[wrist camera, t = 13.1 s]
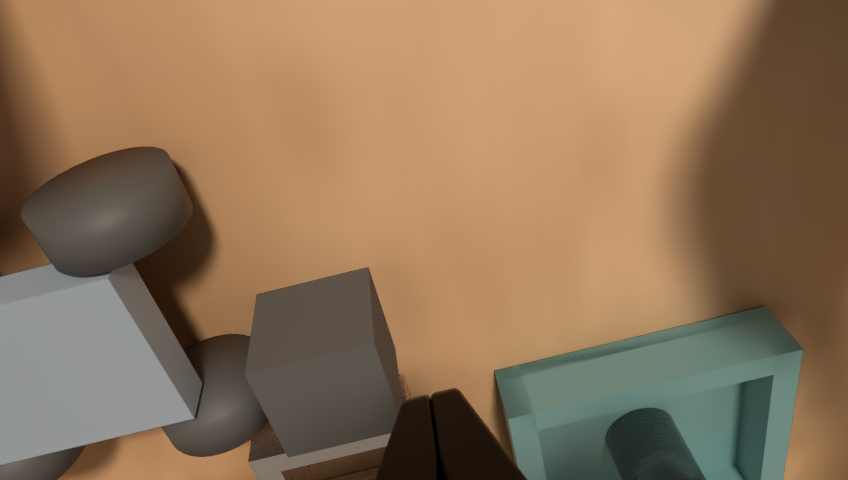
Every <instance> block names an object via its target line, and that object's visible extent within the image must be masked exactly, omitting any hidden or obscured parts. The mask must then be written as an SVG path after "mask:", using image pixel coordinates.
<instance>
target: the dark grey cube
mask: <svg viewBox="0 0 848 480" xmlns="http://www.w3.org/2000/svg"><path fill="white" fill-rule="evenodd" d="M245 377H246V379H247V380H248V382H249V384H250V386H251V388H252V390H253V392H254V394H255V396H256V398H257V400H258V401H259V403H260V405H261V407H262V409H263V411H264V413H265V415H266V417H267V419H268V420H269V422H270V424H271V426H272V428H273V430H274V432H275V434H276V436H277V438H278V440H279V441H280V443H281V445H282V447H283V449H284V451H285V453H286V455H287V457H288V458H289V457H293V456H297V455H302V454H306V453H310V452H314V451H318V450H323V449H327V448H331V447H335V446H339V445H344V444H348V443H352V442H356V441H360V440H364V439H369V438H373V437H377V436H381V435H385V434H390V433H391V432H392V429H393V426H394V423H395V421H396V418H397V415H398V412H399V409H400V406H401V404H402V403H401V394H400V386H399V377H398V369H397V360H396V351H395V347H394V344H393V341H392V338H391V335H390V332H389V329H388V326H387V323H386V320H385V316H384V313H383V310H382V307H381V304H380V301H379V298H378V295H377V292H376V289H375V286H374V283H373V280H372V277H371V274H370V271H369V268H368V267H367V268H363V269H359V270H354V271H350V272H346V273H342V274H338V275H334V276H330V277H326V278H322V279H318V280H313V281H309V282H305V283H301V284H297V285H293V286H289V287H285V288H281V289H277V290H272V291H268V292H264V293H260V294H257V297H256V303H255V310H254V317H253V323H252V330H251V337H250V343H249V350H248V357H247V363H246V370H245Z"/></svg>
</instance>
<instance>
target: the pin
mask: <svg viewBox="0 0 848 480" xmlns="http://www.w3.org/2000/svg"><path fill="white" fill-rule="evenodd" d="M605 441H606V444H607V447H608V449H609V451H610V454H611V456H612V458H613V461H614V463H615V465H616V468H617V470H618V472H619V475H620V477H621V479H622V480H706V478H705V476H704V475H703V473H702V471H701V469H700V467H699V466H698V464H697V462H696V460H695V458H694V457H693V455H692V453H691V451H690V449H689V448H688V446H687V444H686V442H685V440H684V439H683V437H682V435H681V433H680V431H679V430H678V428H677V426H676V424H675V422H674V421H673V419H672V417H671V416H670V414H669V413H667V412H666V411H664V410H662V409H658V408H641V409H637V410H634V411H631V412H628V413H626V414H624V415H623V416H621V417H620V418H618V419H617V420H616V421H614V422H613V424H612V425H611V426H610V427H609V429H608V431H607V433H606V437H605Z"/></svg>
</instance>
